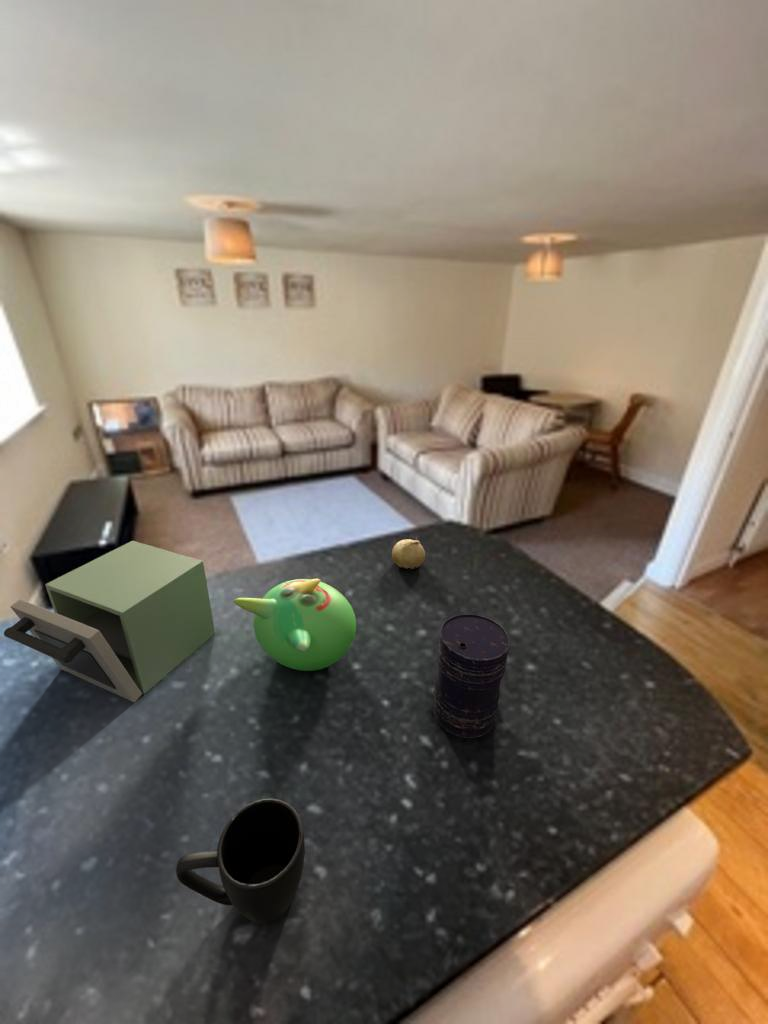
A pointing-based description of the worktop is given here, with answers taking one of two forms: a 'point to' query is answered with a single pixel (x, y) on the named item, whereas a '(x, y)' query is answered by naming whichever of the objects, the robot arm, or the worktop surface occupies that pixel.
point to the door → (72, 648)
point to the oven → (140, 607)
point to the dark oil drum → (469, 674)
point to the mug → (253, 862)
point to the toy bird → (302, 623)
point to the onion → (408, 554)
